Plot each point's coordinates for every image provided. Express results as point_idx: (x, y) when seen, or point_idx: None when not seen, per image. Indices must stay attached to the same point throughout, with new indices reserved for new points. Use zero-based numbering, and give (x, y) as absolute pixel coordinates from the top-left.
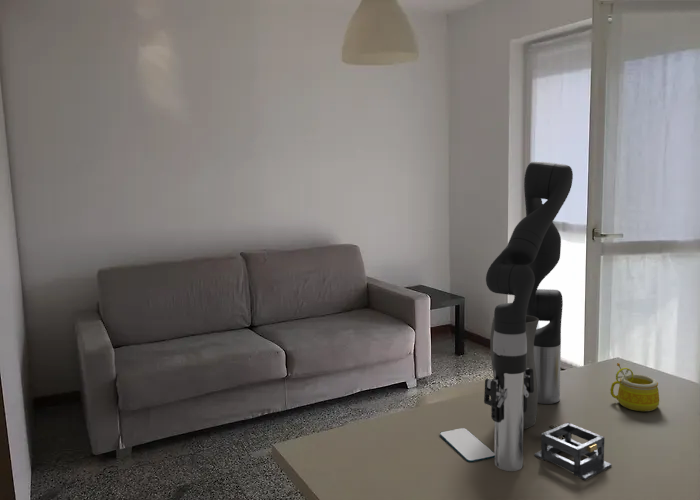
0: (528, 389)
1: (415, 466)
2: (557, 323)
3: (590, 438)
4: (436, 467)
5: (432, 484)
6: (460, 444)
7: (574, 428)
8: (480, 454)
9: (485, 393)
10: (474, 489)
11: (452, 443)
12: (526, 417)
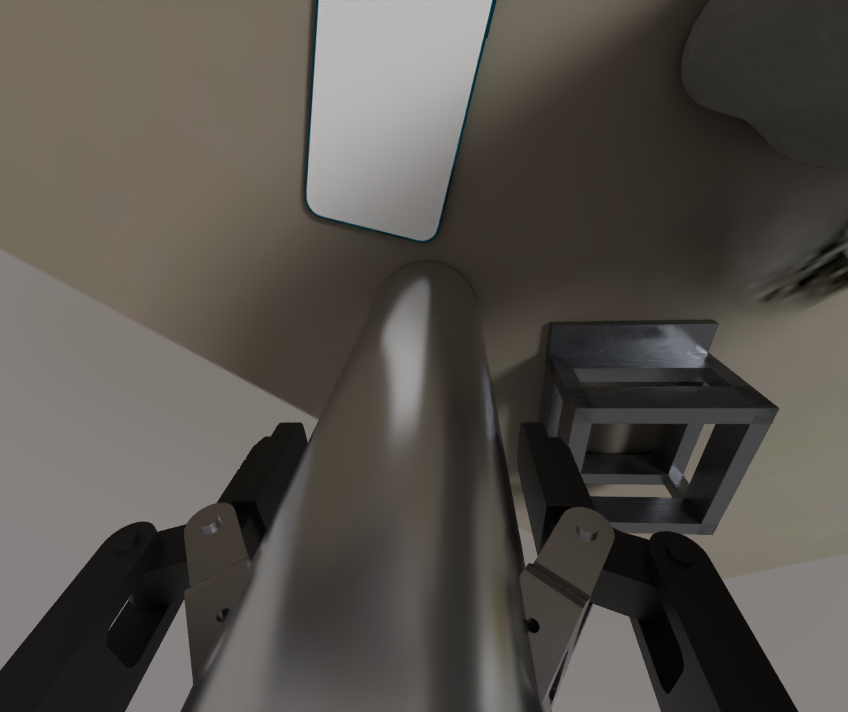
0: (632, 613)
1: (71, 88)
2: None
3: (700, 486)
4: (162, 158)
5: (107, 251)
6: (359, 48)
7: (734, 443)
8: (381, 198)
9: (34, 645)
10: (231, 349)
11: (329, 3)
12: (807, 154)
